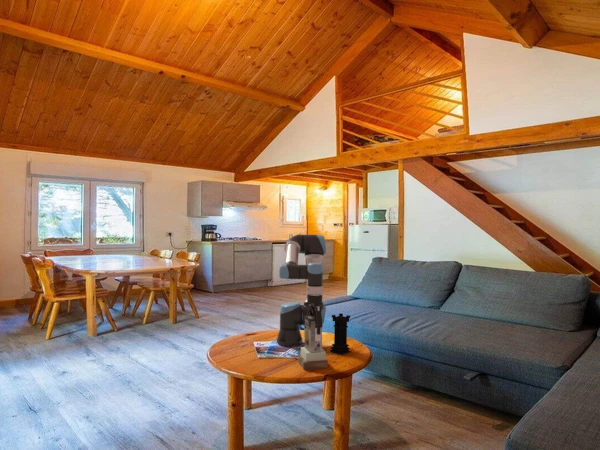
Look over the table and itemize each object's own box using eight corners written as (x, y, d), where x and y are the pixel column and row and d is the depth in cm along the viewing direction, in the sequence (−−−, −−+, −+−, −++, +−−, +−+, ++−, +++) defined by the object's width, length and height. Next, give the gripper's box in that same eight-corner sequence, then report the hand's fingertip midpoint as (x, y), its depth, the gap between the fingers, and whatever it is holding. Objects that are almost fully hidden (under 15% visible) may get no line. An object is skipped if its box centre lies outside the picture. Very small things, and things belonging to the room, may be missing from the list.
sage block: (300, 354, 207) (300, 347, 207) (319, 353, 210) (319, 345, 210) (305, 361, 198) (306, 353, 198) (325, 360, 200) (325, 351, 200)
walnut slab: (298, 362, 208) (298, 354, 208) (320, 360, 211) (320, 353, 211) (303, 370, 196) (303, 362, 196) (327, 369, 199) (327, 361, 199)
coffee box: (304, 347, 207) (303, 315, 207) (315, 346, 209) (315, 314, 209) (310, 352, 198) (309, 319, 198) (322, 351, 200) (322, 318, 200)
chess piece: (340, 355, 219) (340, 317, 219) (329, 351, 225) (330, 315, 225) (350, 352, 224) (351, 315, 224) (340, 348, 230) (340, 313, 230)
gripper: (301, 290, 214) (300, 330, 214) (314, 299, 190) (313, 344, 190) (315, 289, 216) (314, 329, 216) (329, 298, 192) (328, 343, 192)
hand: (314, 337), depth 203 cm, fingers open, 13 cm apart
